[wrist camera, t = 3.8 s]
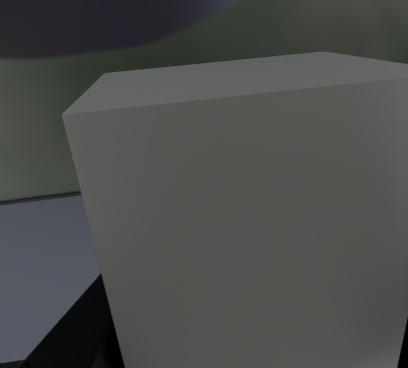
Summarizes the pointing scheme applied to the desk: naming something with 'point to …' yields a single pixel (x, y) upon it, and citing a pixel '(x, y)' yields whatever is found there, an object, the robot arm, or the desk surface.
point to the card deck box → (250, 210)
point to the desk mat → (41, 267)
